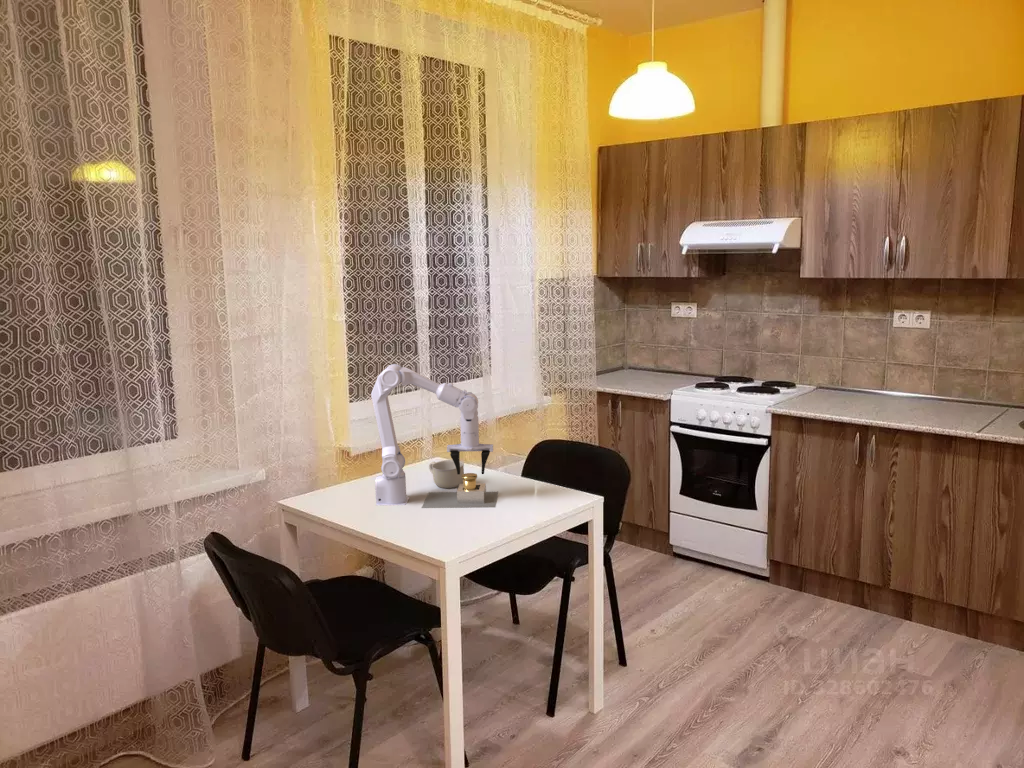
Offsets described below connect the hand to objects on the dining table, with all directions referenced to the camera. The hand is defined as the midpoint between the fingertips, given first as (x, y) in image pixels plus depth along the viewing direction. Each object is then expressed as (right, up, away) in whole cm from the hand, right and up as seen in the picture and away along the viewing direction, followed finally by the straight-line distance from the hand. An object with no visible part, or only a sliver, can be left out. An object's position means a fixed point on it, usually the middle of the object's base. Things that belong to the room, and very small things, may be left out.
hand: (470, 473), depth 243 cm
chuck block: (0, -8, +1) cm, 9 cm away
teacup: (-10, -7, +19) cm, 22 cm away
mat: (-3, -9, +2) cm, 10 cm away
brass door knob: (0, -8, +1) cm, 9 cm away
